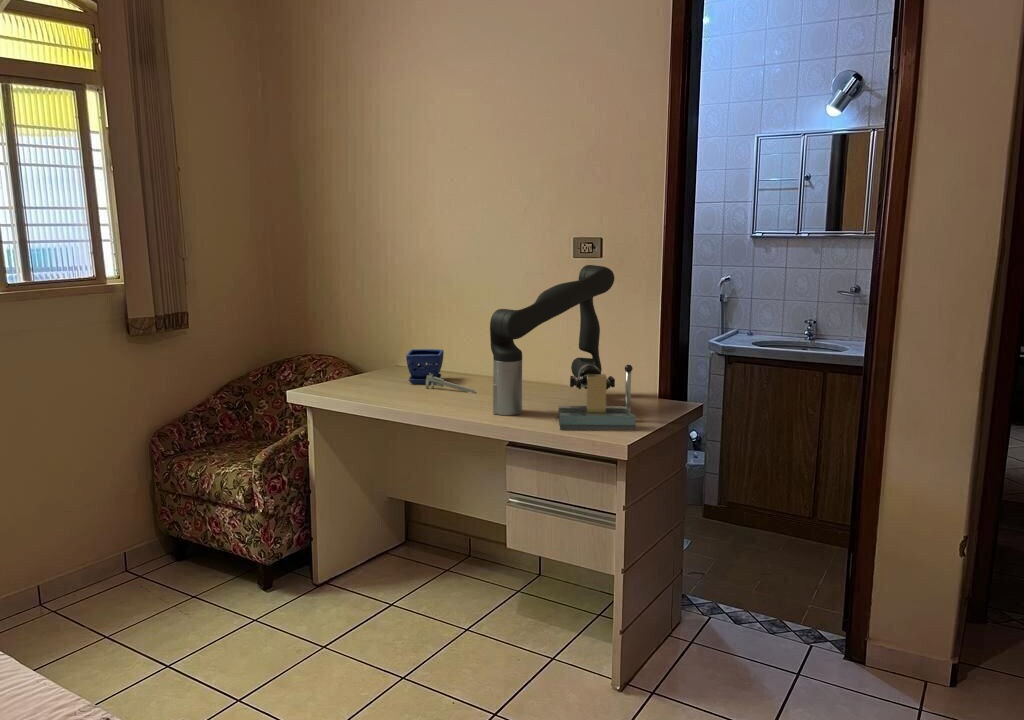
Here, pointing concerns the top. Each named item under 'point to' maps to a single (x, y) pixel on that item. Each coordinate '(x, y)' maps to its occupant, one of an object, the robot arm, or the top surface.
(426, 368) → the flower pot
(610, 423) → the vise
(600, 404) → the block
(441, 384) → the caliper
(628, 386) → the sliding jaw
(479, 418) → the top surface
